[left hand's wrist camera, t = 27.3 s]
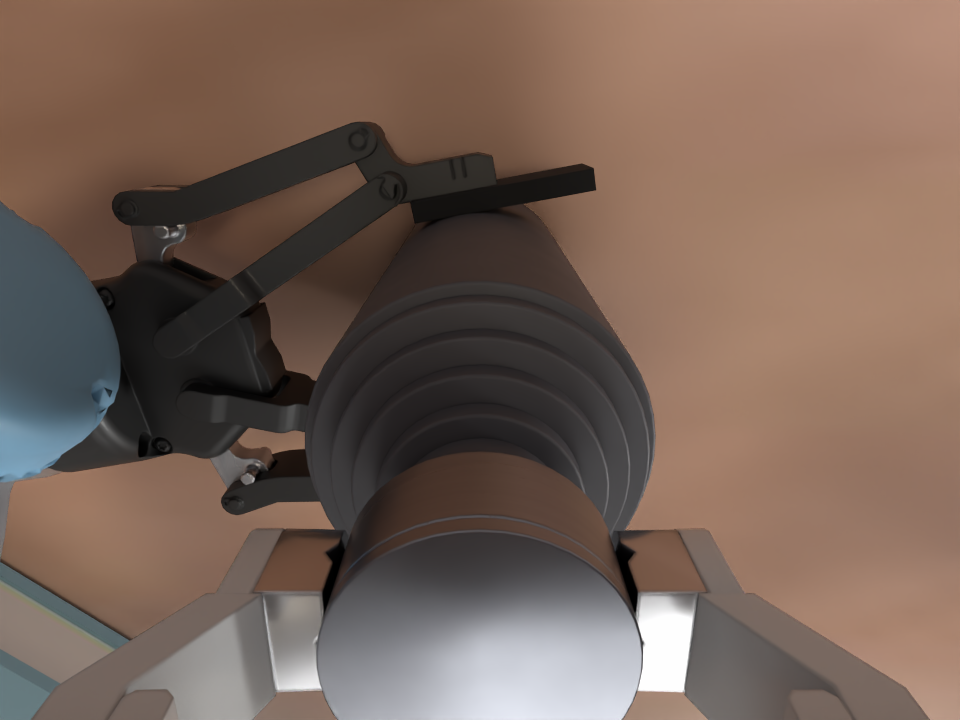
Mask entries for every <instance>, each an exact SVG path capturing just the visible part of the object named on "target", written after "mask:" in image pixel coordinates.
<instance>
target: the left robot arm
mask: <svg viewBox="0 0 960 720" xmlns="http://www.w3.org/2000/svg"><path fill="white" fill-rule="evenodd" d="M347 542H348V534H347V532H346V530H328V529H283V528H281V529H255V530H253V531H251V532H250V533H249V535H248V537H247V539H246V540H245V542H244V544H243V546H242V547H241V549H240V551H239V553H238V554H237V556H236V558H235V560H234V561H233V563H232V565H231V567H230V568H229V570H228V572H227V574H226V575H225V577H224V579H223V581H222V583H221V584H220V586H219V588H218V590H217V591H216V593H206V594H204V595H203V596H201V597H200V598H198V599H196V600H195V601H193V602H191V603H190V604H188V605H187V606H185V607H183V608H182V609H180V610H179V611H177V612H175V613H174V614H172V615H171V616H169V617H167V618H166V619H164V620H162V621H161V622H159V623H158V624H156V625H154V626H153V627H151V628H150V629H148V630H146V631H145V632H143V633H141V634H140V635H138V636H137V637H135V638H133V639H132V640H130V641H129V642H127V643H125V644H124V645H122V646H120V647H119V648H117V649H116V650H114V651H112V652H111V653H109V654H108V655H106V656H104V657H103V658H101V659H100V660H98V661H96V662H95V663H93V664H91V665H90V666H88V667H87V668H85V669H83V670H82V671H80V672H79V673H77V674H75V675H74V676H72V677H70V678H69V679H67V680H66V681H64V682H62V683H61V684H59V685H58V686H56V687H55V688H54V690H53V691H52V692H51V694H50V695H49V696H48V697H47V699H46V700H45V701H44V703H43V704H42V705H41V707H40V708H39V709H38V711H37V712H36V713H35V715H34V716H33V717H32V719H31V720H252V719H253V718H254V717H255V716H256V715H257V714H258V713H259V712H260V711H261V710H262V709H263V708H264V707H265V706H266V705H267V704H268V703H269V702H270V701H271V700H272V699H273V698H274V697H275V696H276V694H275V692H299V691H322V689H321V686H320V683H319V677H318V672H317V667H316V647H317V640H318V634H319V630H320V627H321V624H322V621H323V617H324V614H325V611H326V608H327V605H328V602H329V599H330V595H331V592H332V589H333V586H334V583H335V580H336V577H337V574H338V570H339V567H340V564H341V561H342V558H343V555H344V552H345V549H346V545H347ZM612 543H613V546H614V550H615V553H616V556H617V559H618V562H619V565H620V569H621V572H622V575H623V578H624V581H625V584H626V588H627V591H628V594H629V597H630V600H631V604H632V607H633V610H634V613H635V616H636V619H637V623H638V626H639V629H640V632H641V637H642V644H643V670H642V675H641V680H640V685H639V688H638V691H661V692H685V694H684V695H685V696H686V697H687V698H688V699H689V700H690V701H691V702H692V703H693V704H694V705H695V706H696V707H697V708H698V709H699V711H700V712H701V713H702V714H703V715H704V716H705V717H706V718H707V719H708V720H930V719H929V718H928V716H927V715H926V714H925V712H924V711H923V710H922V708H921V707H920V706H919V704H918V703H917V702H916V700H915V699H914V698H913V696H912V695H911V694H910V693H909V691H908V690H907V689H906V687H904V686H902V685H901V684H899V683H898V682H896V681H894V680H893V679H891V678H889V677H888V676H886V675H885V674H883V673H881V672H880V671H878V670H877V669H875V668H873V667H872V666H870V665H869V664H867V663H865V662H864V661H862V660H861V659H859V658H857V657H856V656H854V655H852V654H851V653H849V652H848V651H846V650H844V649H843V648H841V647H840V646H838V645H836V644H835V643H833V642H832V641H830V640H828V639H827V638H825V637H824V636H822V635H820V634H819V633H817V632H815V631H814V630H812V629H811V628H809V627H807V626H806V625H804V624H803V623H801V622H799V621H798V620H796V619H795V618H793V617H791V616H790V615H788V614H786V613H785V612H783V611H782V610H780V609H778V608H777V607H775V606H774V605H772V604H770V603H769V602H767V601H766V600H764V599H762V598H761V597H759V596H758V595H756V594H754V593H744V591H743V589H742V587H741V586H740V584H739V582H738V580H737V579H736V577H735V575H734V573H733V572H732V570H731V568H730V566H729V565H728V563H727V561H726V560H725V558H724V556H723V554H722V553H721V551H720V549H719V547H718V546H717V544H716V542H715V540H714V539H713V537H712V535H711V533H710V532H709V531H708V530H706V529H705V528H692V529H674V530H623V531H613V535H612Z"/></svg>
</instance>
